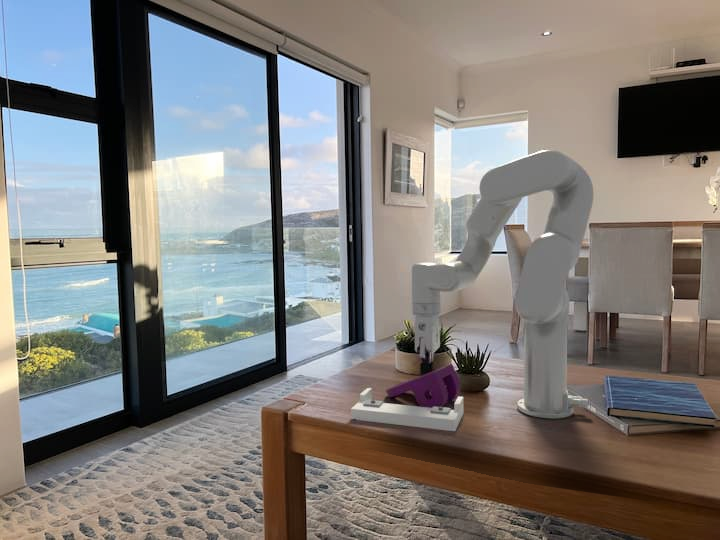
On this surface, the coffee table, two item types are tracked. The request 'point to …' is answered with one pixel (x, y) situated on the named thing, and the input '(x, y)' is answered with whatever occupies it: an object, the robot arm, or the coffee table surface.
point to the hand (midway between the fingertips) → (426, 376)
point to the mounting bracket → (431, 387)
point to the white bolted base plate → (407, 413)
